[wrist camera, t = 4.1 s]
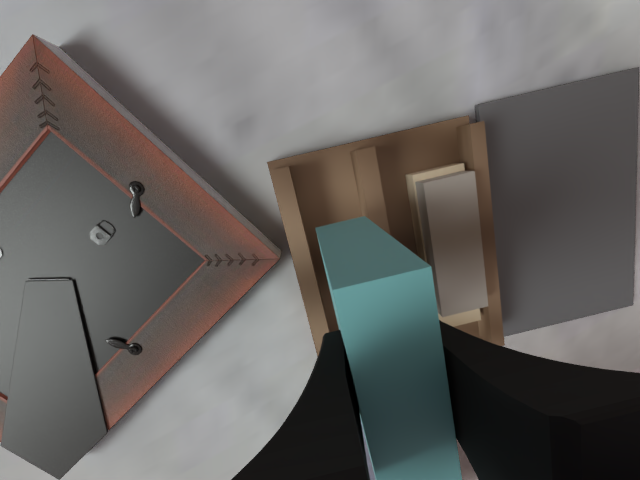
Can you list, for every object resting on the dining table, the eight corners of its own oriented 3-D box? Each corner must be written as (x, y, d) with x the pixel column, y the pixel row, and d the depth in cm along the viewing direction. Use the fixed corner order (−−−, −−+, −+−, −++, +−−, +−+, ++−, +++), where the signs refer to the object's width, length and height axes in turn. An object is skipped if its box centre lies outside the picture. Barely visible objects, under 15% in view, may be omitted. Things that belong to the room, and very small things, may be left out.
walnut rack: (482, 331, 23) (510, 356, 20) (322, 370, 23) (326, 401, 20) (459, 117, 19) (489, 109, 16) (268, 162, 19) (263, 161, 16)
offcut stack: (470, 311, 21) (492, 329, 19) (428, 321, 21) (444, 341, 19) (453, 163, 19) (475, 163, 16) (405, 174, 19) (420, 175, 16)
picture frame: (83, 448, 23) (282, 249, 21) (59, 481, 21) (280, 260, 18) (-140, 310, 20) (66, 50, 17) (-201, 330, 17) (28, 32, 15)
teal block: (392, 360, 17) (467, 513, 9) (348, 371, 17) (389, 533, 9) (364, 215, 15) (431, 266, 7) (315, 227, 15) (332, 290, 7)
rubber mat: (627, 302, 23) (633, 305, 23) (496, 334, 23) (500, 337, 22) (632, 69, 19) (639, 66, 19) (474, 105, 19) (478, 104, 19)
